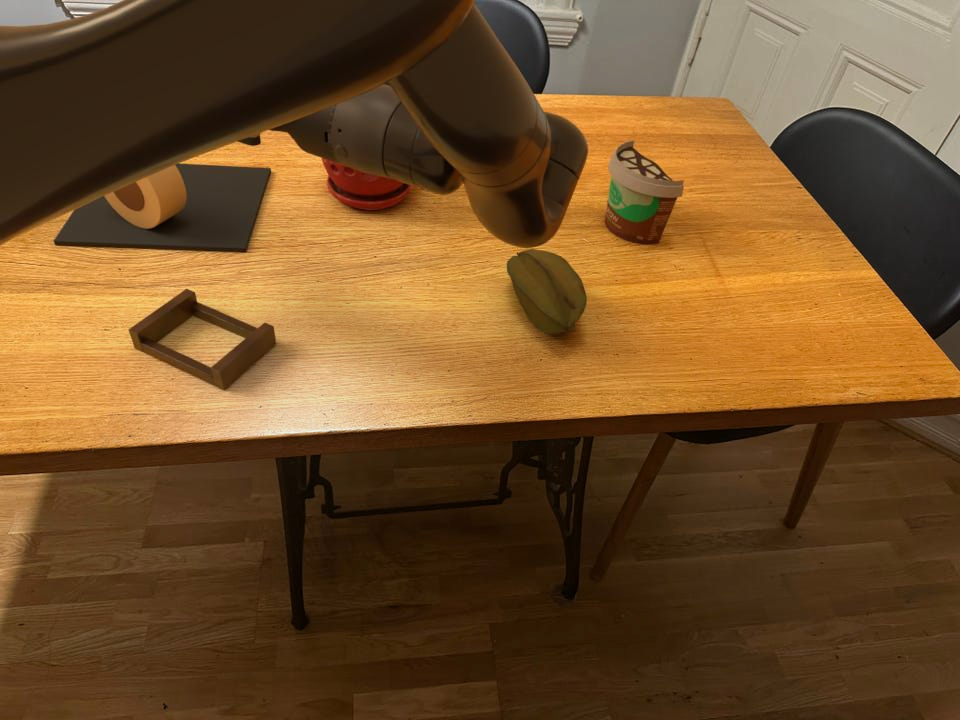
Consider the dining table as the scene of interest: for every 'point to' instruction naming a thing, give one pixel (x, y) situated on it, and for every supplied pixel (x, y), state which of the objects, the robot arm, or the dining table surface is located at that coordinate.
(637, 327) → the dining table surface
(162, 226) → the mat
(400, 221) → the dining table surface
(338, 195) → the flower pot
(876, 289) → the dining table surface
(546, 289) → the fruit
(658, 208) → the food container
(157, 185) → the tape roll
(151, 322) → the holder
